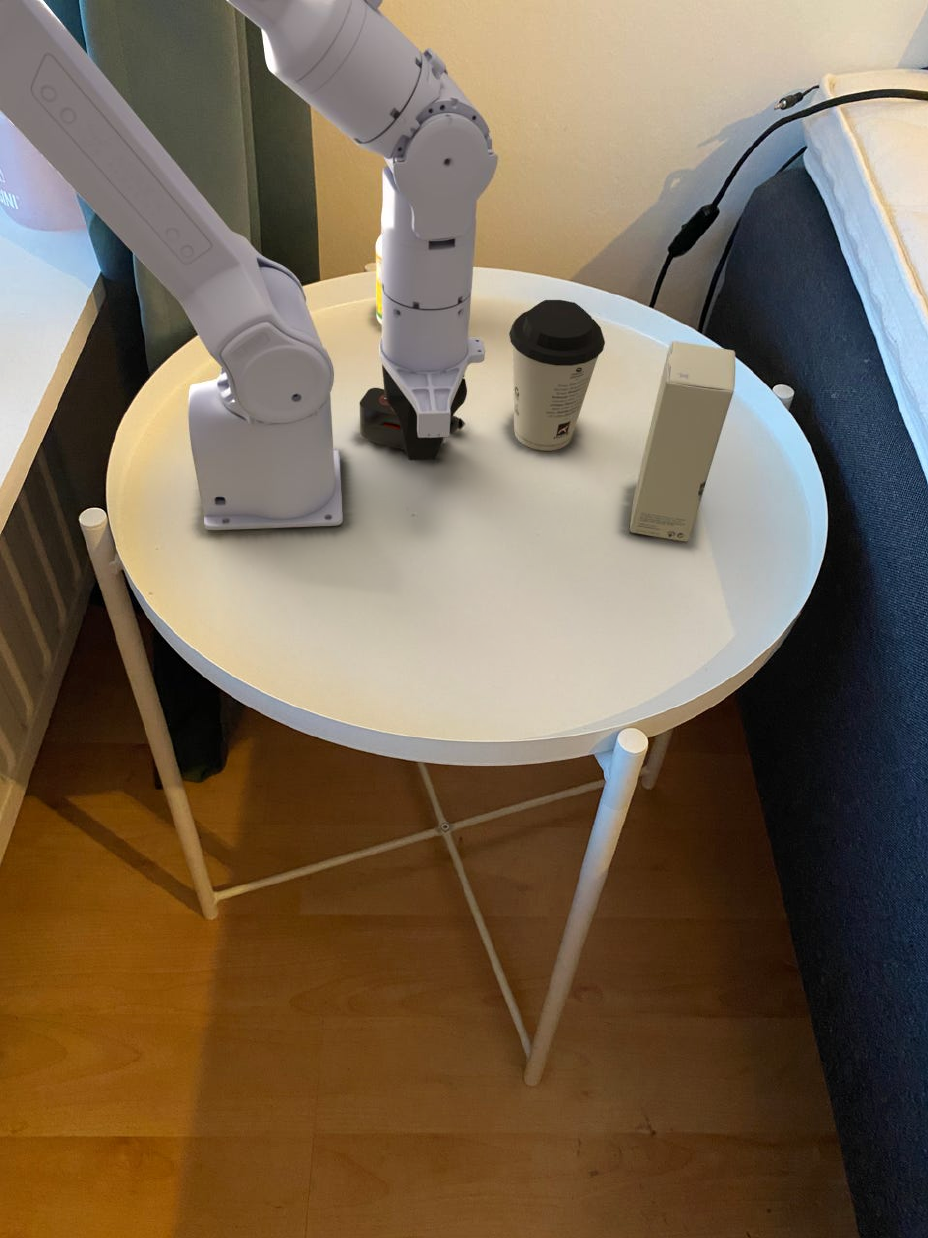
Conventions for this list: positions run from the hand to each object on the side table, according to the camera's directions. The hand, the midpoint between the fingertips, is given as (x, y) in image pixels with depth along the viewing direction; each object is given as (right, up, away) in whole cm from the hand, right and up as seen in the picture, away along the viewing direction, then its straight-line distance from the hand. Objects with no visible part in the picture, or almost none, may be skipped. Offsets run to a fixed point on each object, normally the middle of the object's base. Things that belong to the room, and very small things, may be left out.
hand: (421, 454), depth 72 cm
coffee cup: (+9, +2, +5) cm, 11 cm away
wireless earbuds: (-1, +2, +4) cm, 4 cm away
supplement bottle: (-2, +14, +15) cm, 21 cm away
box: (+17, -5, -1) cm, 18 cm away
